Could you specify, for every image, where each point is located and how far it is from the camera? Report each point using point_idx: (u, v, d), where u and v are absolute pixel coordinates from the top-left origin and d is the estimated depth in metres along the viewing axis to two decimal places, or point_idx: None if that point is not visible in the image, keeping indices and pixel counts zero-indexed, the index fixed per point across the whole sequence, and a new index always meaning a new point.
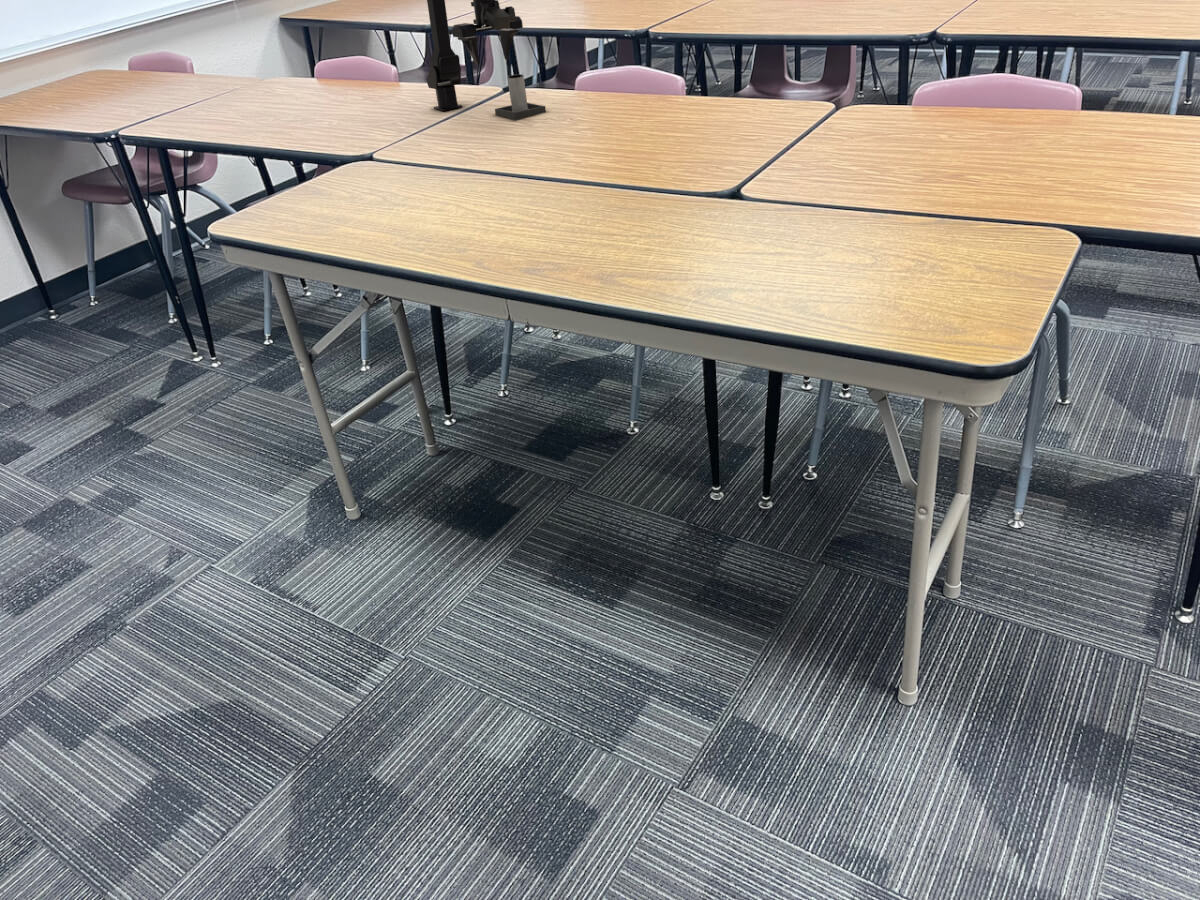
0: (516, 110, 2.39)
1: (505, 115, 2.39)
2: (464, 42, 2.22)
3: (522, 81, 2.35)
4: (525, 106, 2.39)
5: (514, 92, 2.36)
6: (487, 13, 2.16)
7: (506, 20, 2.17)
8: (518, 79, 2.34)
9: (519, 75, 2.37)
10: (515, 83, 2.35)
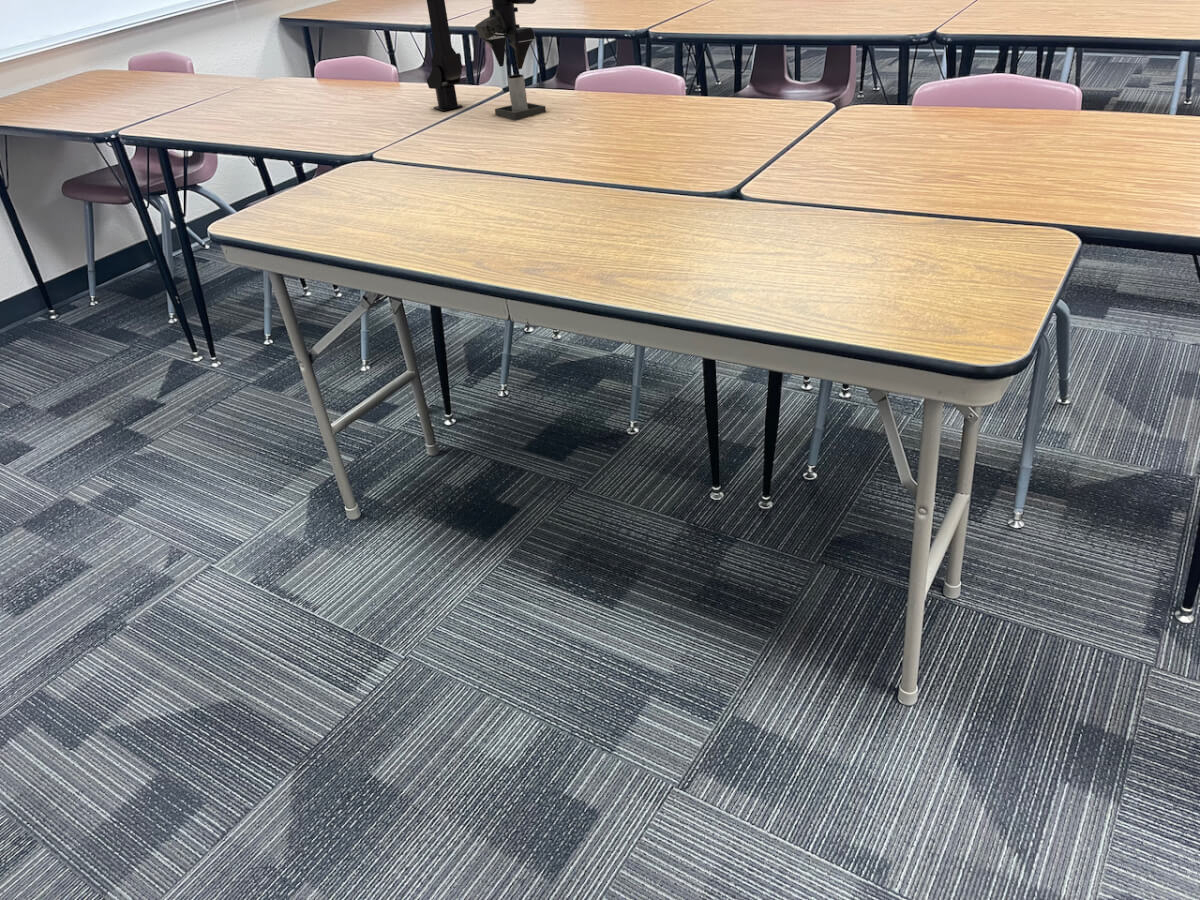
0: (516, 110, 2.39)
1: (505, 115, 2.39)
2: None
3: (522, 81, 2.35)
4: (525, 106, 2.39)
5: (514, 92, 2.36)
6: None
7: (481, 30, 2.23)
8: (518, 79, 2.34)
9: (519, 75, 2.37)
10: (515, 83, 2.35)
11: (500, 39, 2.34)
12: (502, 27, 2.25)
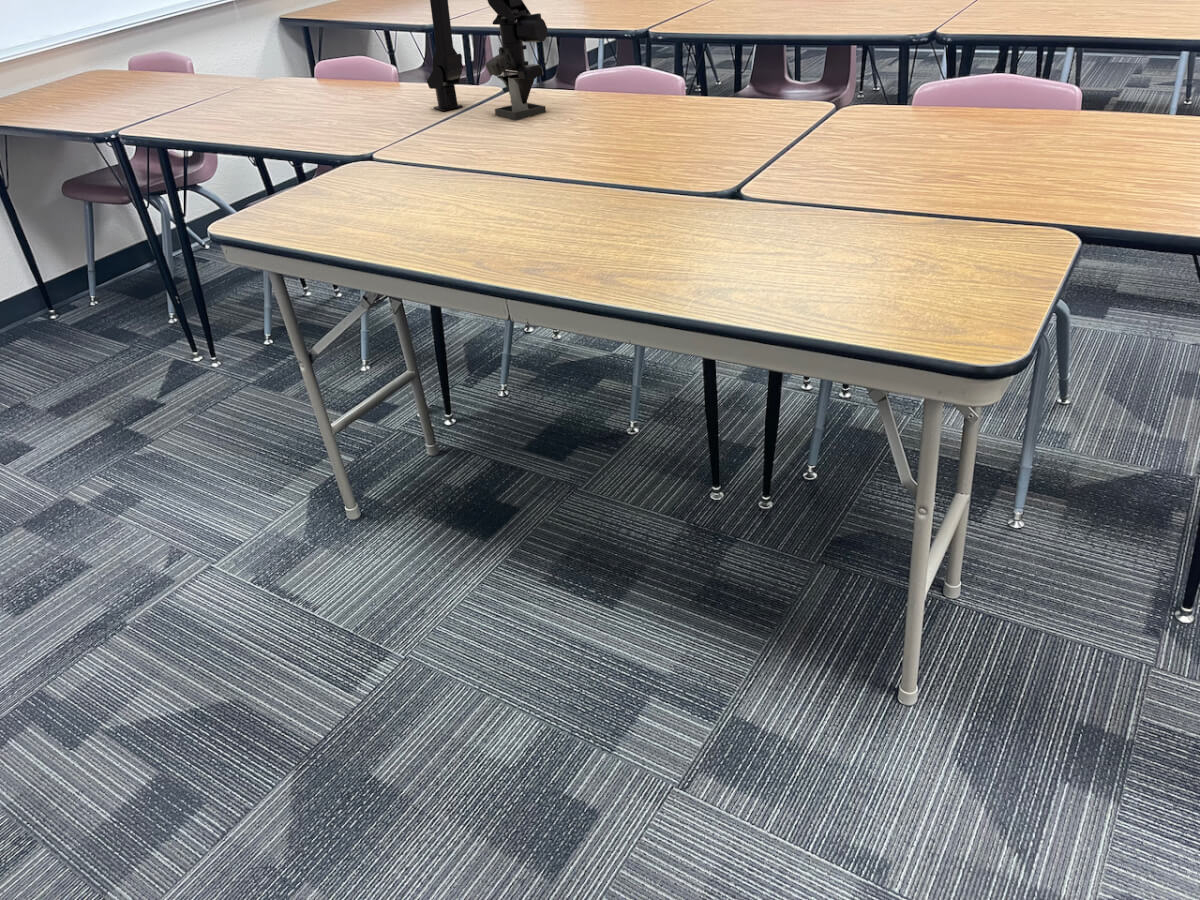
0: (516, 110, 2.39)
1: (505, 115, 2.39)
2: None
3: None
4: (525, 106, 2.39)
5: (514, 92, 2.36)
6: None
7: (491, 68, 2.30)
8: None
9: None
10: (515, 83, 2.35)
11: None
12: (511, 64, 2.31)
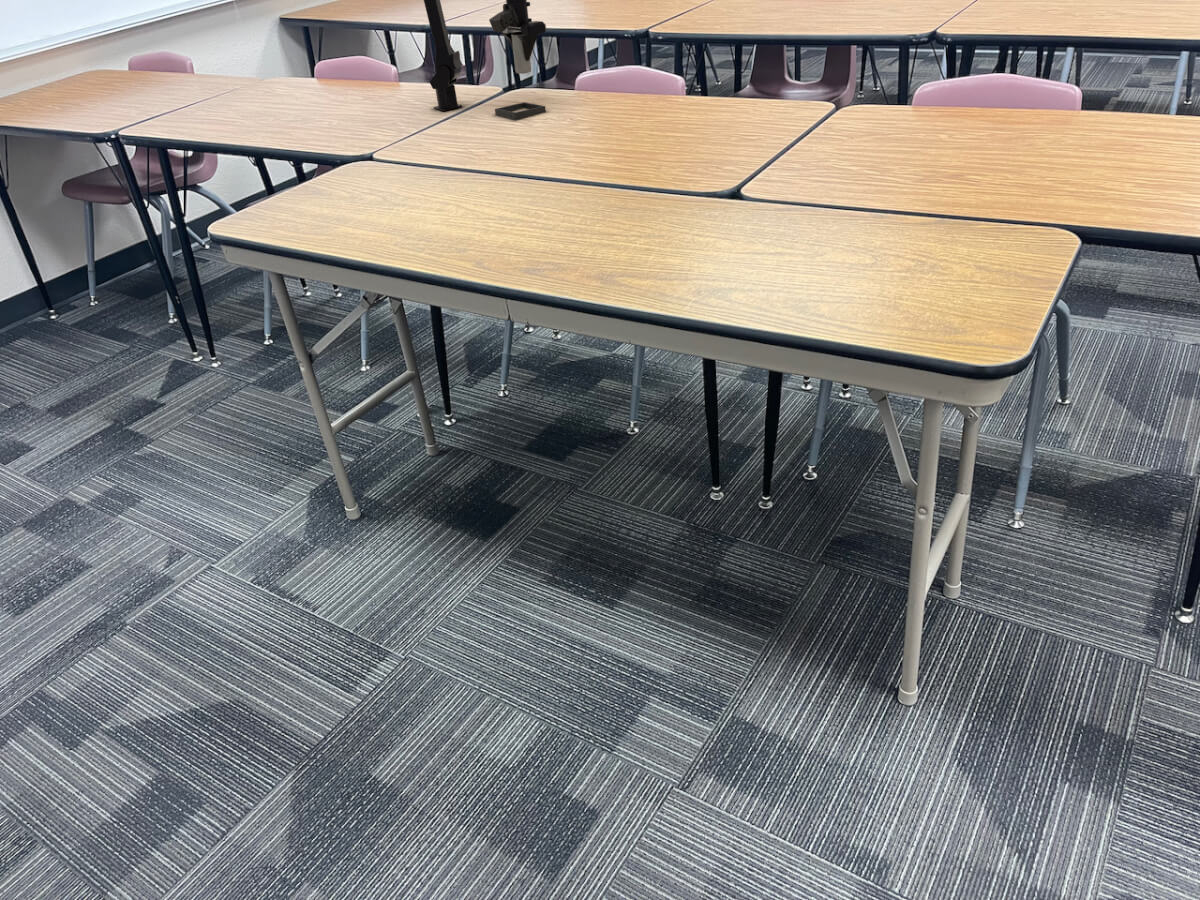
0: (519, 67, 2.43)
1: (505, 115, 2.39)
2: None
3: None
4: (528, 63, 2.43)
5: (517, 49, 2.40)
6: None
7: (495, 24, 2.33)
8: None
9: None
10: (519, 39, 2.38)
11: None
12: (515, 21, 2.34)
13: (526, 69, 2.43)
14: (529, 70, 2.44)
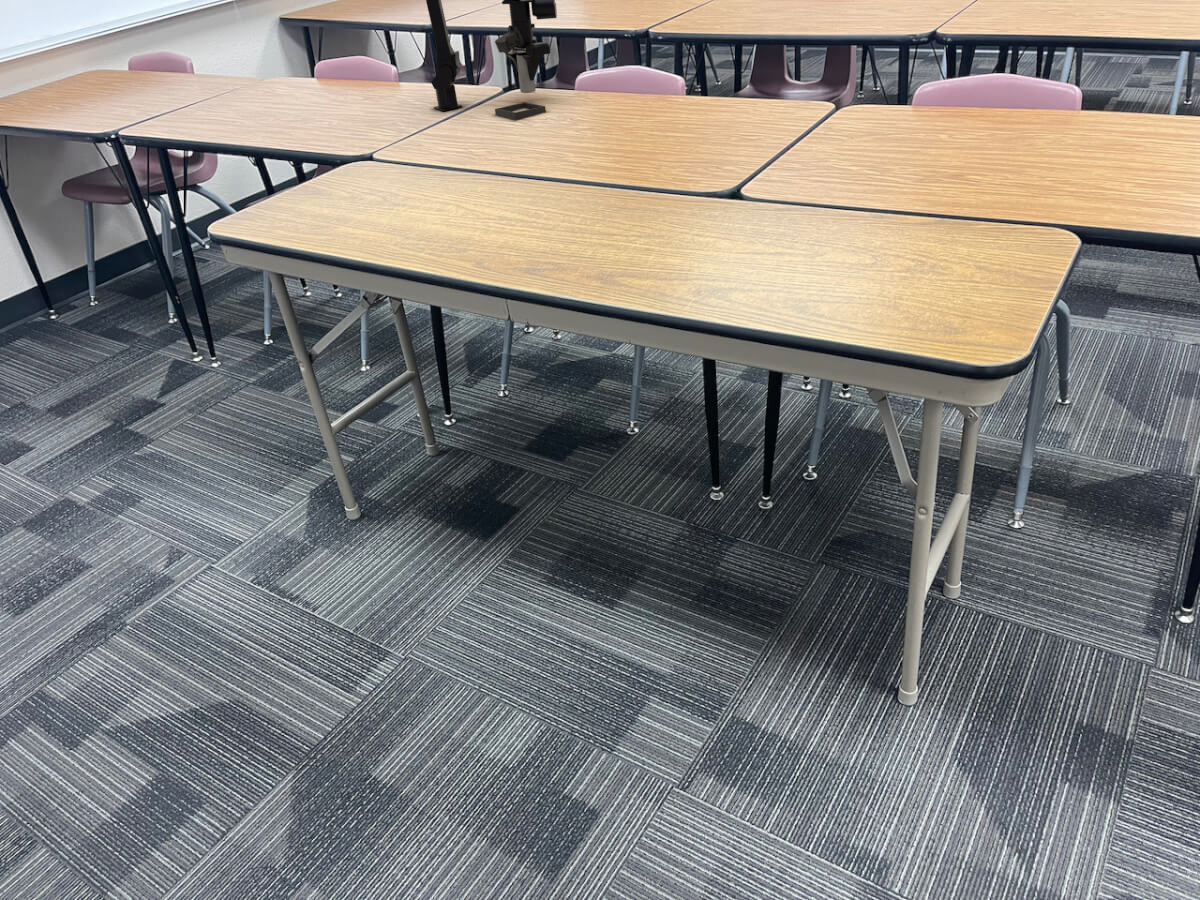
0: (524, 87, 2.49)
1: (505, 115, 2.39)
2: None
3: None
4: (532, 83, 2.49)
5: (522, 69, 2.46)
6: None
7: (501, 45, 2.39)
8: None
9: None
10: (523, 60, 2.44)
11: None
12: (520, 42, 2.40)
13: (531, 88, 2.49)
14: (533, 89, 2.50)
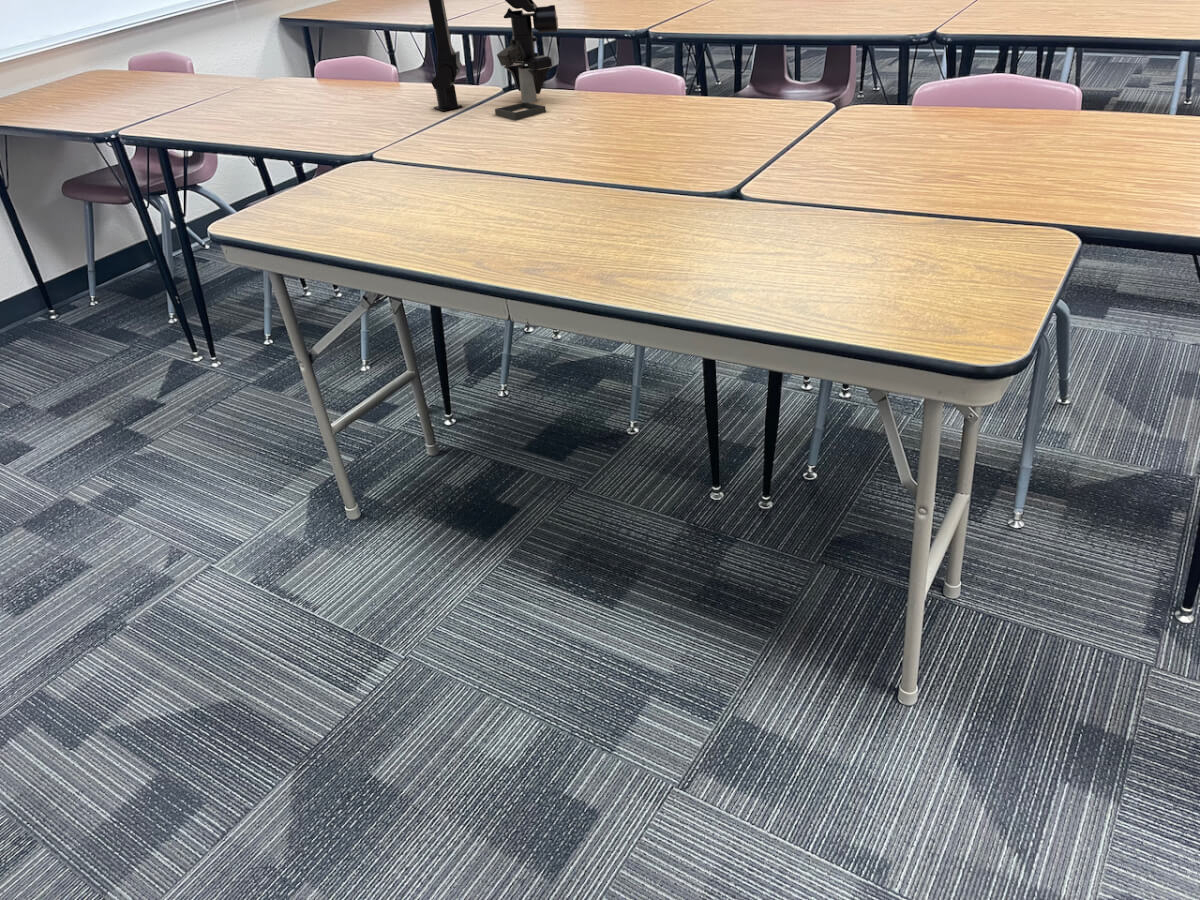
0: (525, 99, 2.51)
1: (505, 115, 2.39)
2: None
3: None
4: (534, 96, 2.51)
5: (524, 82, 2.48)
6: None
7: (503, 59, 2.41)
8: (528, 69, 2.46)
9: None
10: (525, 73, 2.46)
11: (519, 66, 2.52)
12: (522, 56, 2.42)
13: (532, 101, 2.51)
14: None
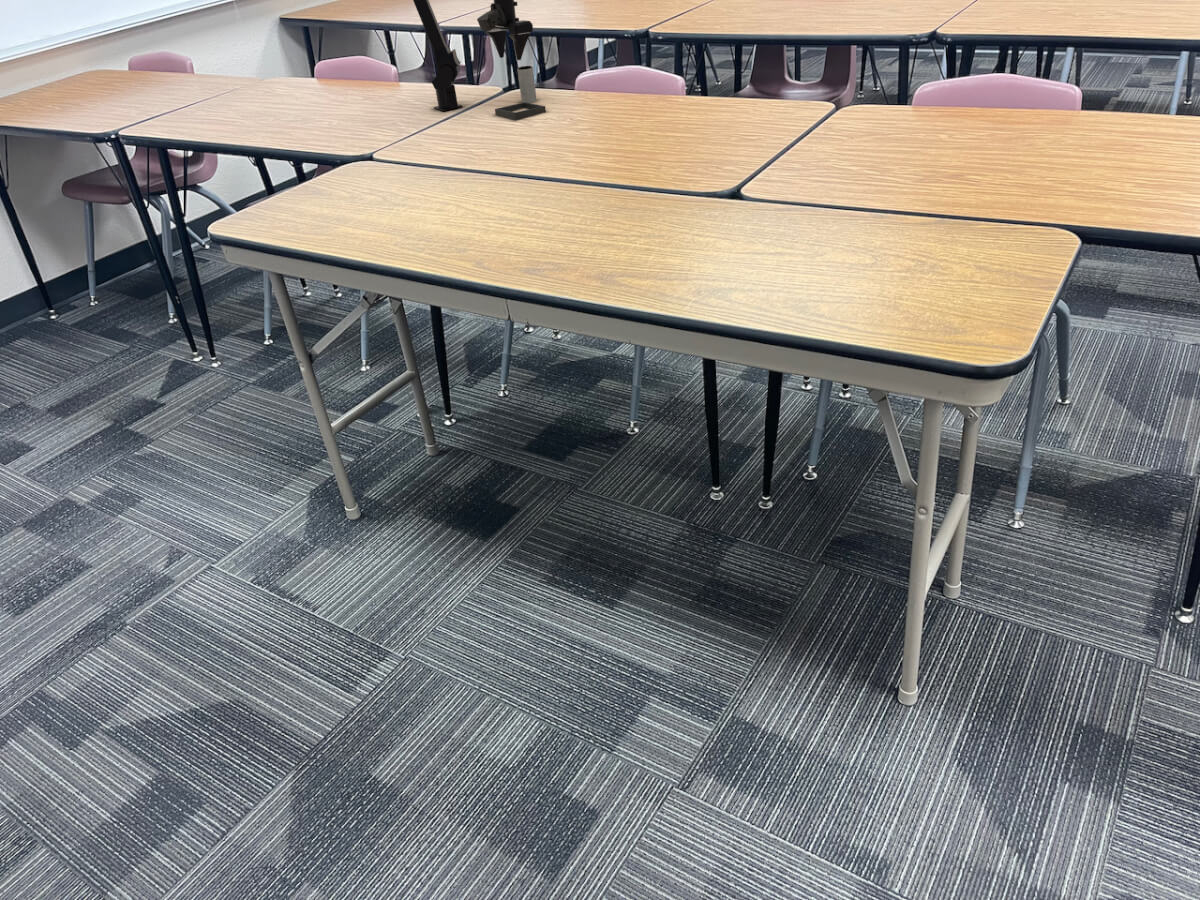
0: (525, 100, 2.51)
1: (505, 115, 2.39)
2: None
3: (531, 72, 2.47)
4: (534, 96, 2.51)
5: (523, 83, 2.48)
6: None
7: (483, 23, 2.37)
8: (527, 70, 2.46)
9: (528, 67, 2.49)
10: (524, 74, 2.46)
11: (501, 32, 2.48)
12: (502, 20, 2.38)
13: (532, 102, 2.51)
14: None
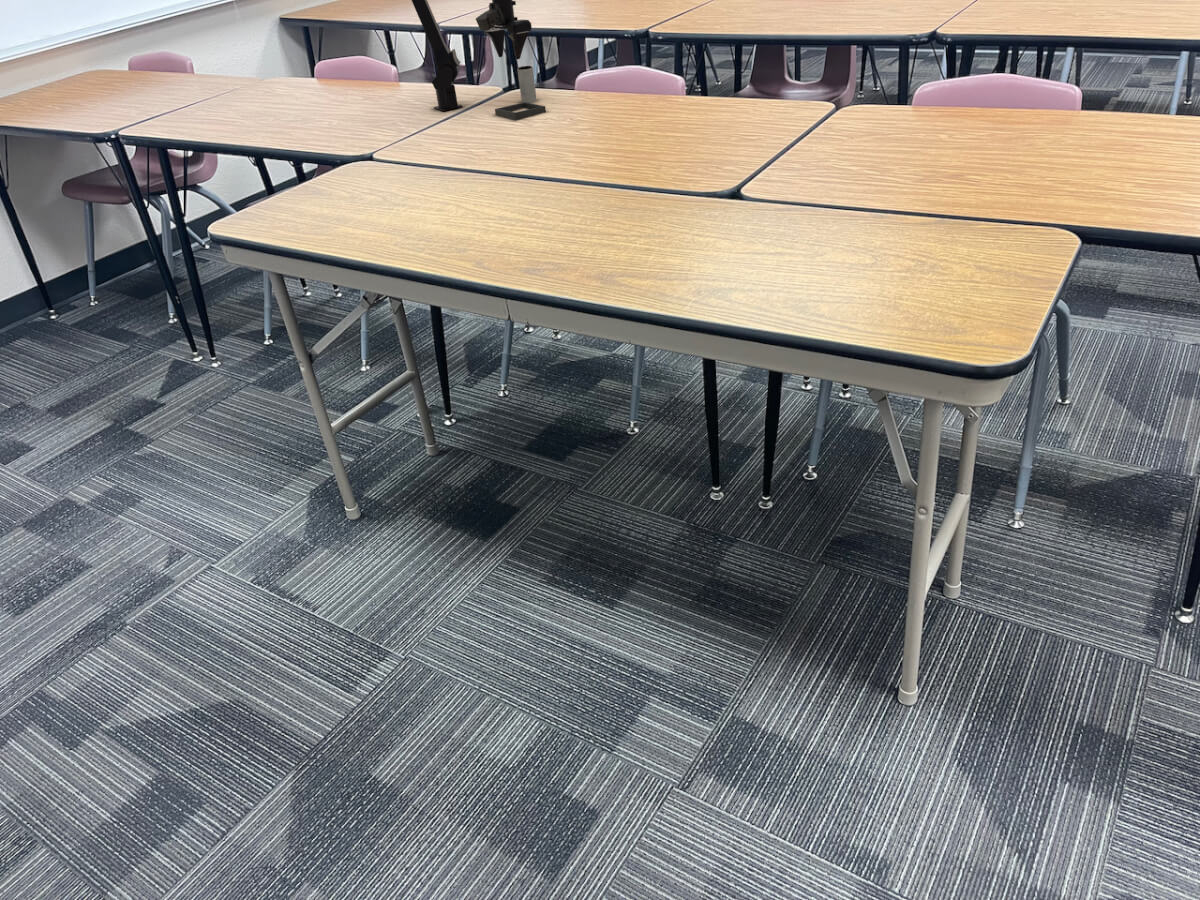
0: (525, 100, 2.51)
1: (505, 115, 2.39)
2: None
3: (531, 72, 2.47)
4: (534, 96, 2.51)
5: (523, 83, 2.48)
6: None
7: (481, 23, 2.37)
8: (527, 70, 2.46)
9: (528, 67, 2.49)
10: (524, 74, 2.46)
11: (499, 31, 2.48)
12: (501, 19, 2.38)
13: (532, 102, 2.51)
14: None
